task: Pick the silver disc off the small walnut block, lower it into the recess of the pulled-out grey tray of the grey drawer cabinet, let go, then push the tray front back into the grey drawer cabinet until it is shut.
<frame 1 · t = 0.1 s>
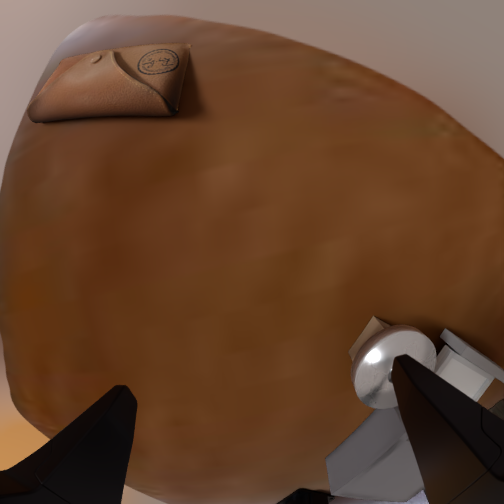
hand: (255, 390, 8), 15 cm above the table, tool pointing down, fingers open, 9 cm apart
tray: (454, 398, 21), point 3 cm above the table, slide at 8.0 cm
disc: (391, 363, 20), point 4 cm above the table, touching walnut block
sunglasses case: (108, 84, 22), on the table
grey drawer cabinet: (392, 441, 25), on the table
walnut block: (376, 342, 24), on the table
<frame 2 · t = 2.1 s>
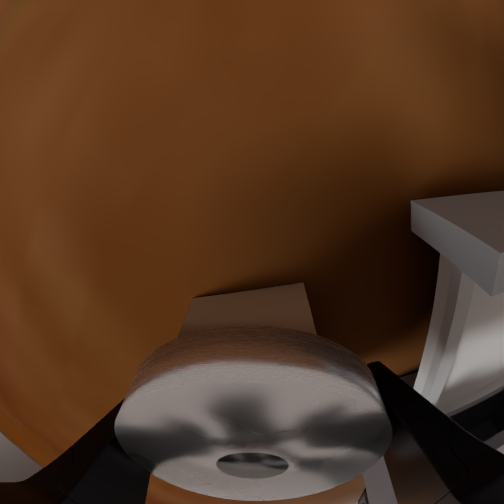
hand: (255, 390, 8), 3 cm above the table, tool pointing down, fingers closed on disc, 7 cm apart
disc: (254, 419, 7), point 4 cm above the table, touching gripper, walnut block
grey drawer cabinet: (454, 405, 13), on the table
walnut block: (256, 334, 11), on the table
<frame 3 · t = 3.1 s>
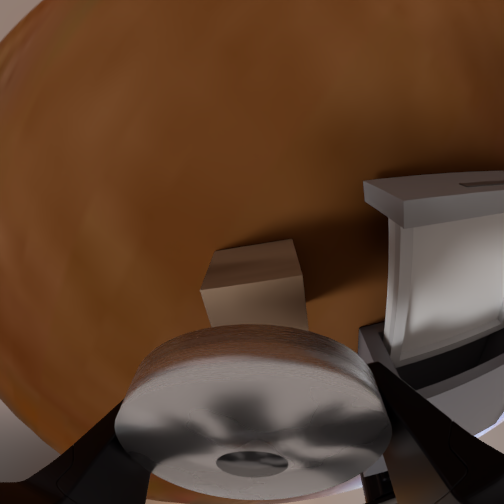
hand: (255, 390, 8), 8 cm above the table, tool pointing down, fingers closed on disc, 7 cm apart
tray: (477, 278, 12), point 3 cm above the table, slide at 8.0 cm
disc: (253, 418, 7), point 9 cm above the table, touching gripper
grey drawer cabinet: (430, 362, 18), on the table
walnut block: (259, 279, 15), on the table
when the fingers open (3 cm above the table, at t = 6.2 s): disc drops 2 cm, resting on tray.
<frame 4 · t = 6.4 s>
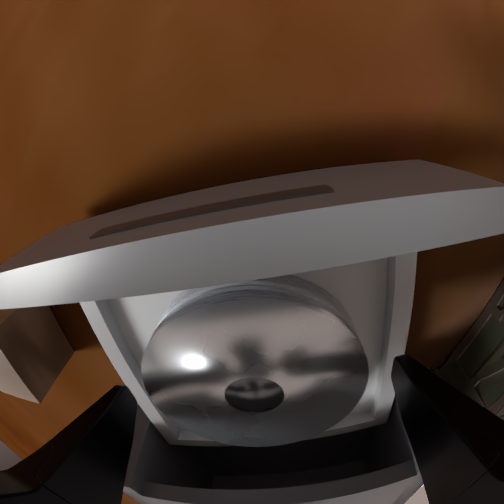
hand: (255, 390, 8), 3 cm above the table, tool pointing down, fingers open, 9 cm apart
tray: (253, 375, 8), point 3 cm above the table, slide at 8.0 cm, touching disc
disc: (255, 360, 9), point 2 cm above the table, touching tray
grey drawer cabinet: (282, 436, 14), on the table
walnut block: (35, 322, 12), on the table
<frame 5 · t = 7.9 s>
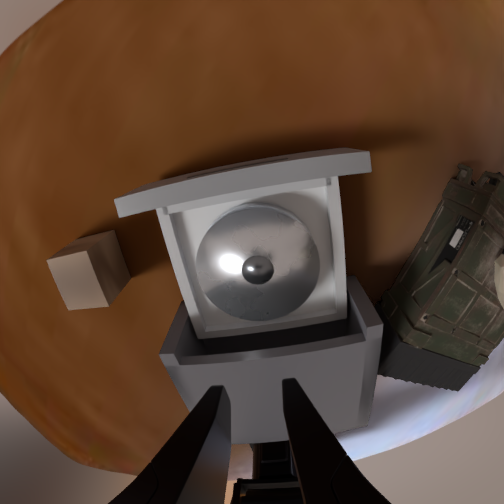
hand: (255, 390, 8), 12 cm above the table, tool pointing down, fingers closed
tray: (257, 260, 16), point 3 cm above the table, slide at 8.0 cm, touching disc
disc: (258, 258, 17), point 2 cm above the table, touching tray
grey drawer cabinet: (277, 346, 23), on the table
radio: (480, 251, 19), on the table
walnut block: (102, 258, 20), on the table
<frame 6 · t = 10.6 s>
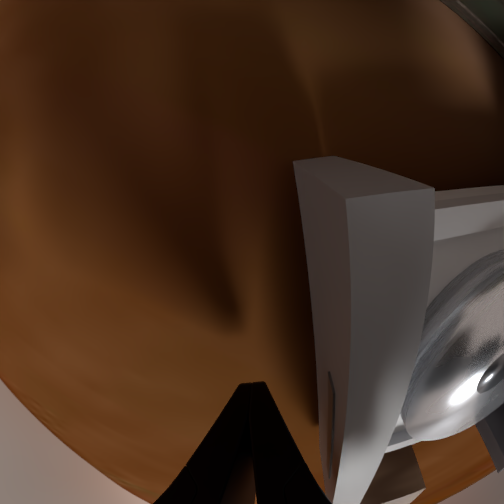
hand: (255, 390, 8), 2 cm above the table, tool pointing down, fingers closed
tray: (482, 363, 6), point 3 cm above the table, slide at 7.2 cm, touching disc, gripper
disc: (475, 343, 7), point 2 cm above the table, touching tray
walnut block: (375, 459, 14), on the table
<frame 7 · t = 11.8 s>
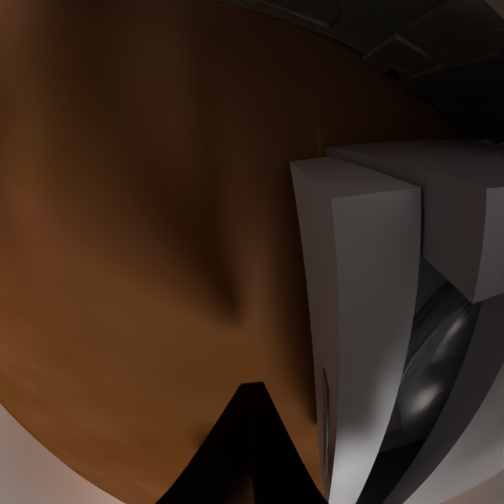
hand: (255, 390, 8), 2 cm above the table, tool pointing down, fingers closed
tray: (479, 363, 6), point 3 cm above the table, slide at 0.0 cm, touching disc, gripper
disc: (472, 343, 7), point 2 cm above the table, touching tray
grey drawer cabinet: (463, 308, 9), on the table
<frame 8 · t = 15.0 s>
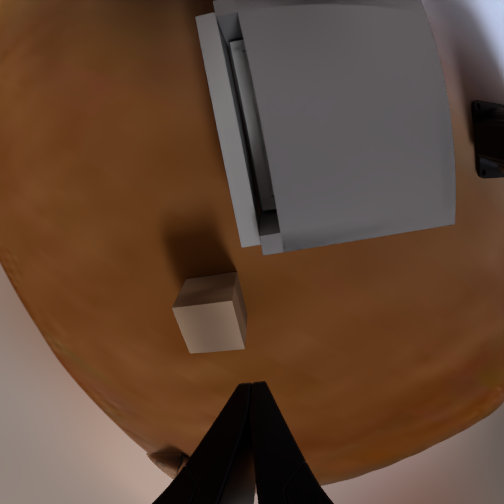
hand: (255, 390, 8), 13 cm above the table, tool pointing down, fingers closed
tray: (320, 112, 14), point 3 cm above the table, slide at 0.0 cm, touching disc
sunglasses case: (194, 472, 37), on the table
grey drawer cabinet: (328, 114, 17), on the table
walnut block: (217, 298, 22), on the table
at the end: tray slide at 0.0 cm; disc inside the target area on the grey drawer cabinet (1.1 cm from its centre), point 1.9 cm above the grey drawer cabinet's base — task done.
